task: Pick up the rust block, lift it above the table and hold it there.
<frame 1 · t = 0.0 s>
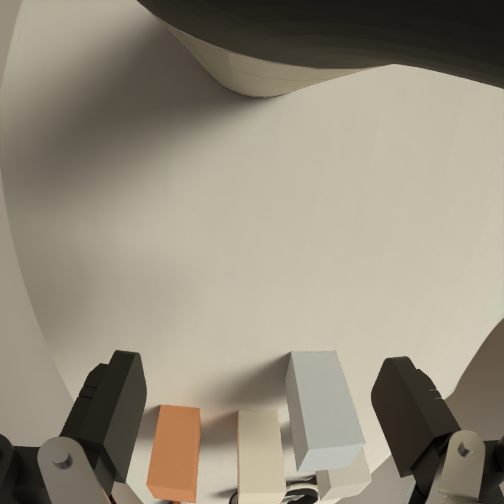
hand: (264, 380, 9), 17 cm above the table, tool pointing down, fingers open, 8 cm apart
cream block: (256, 420, 37), on the table
headset: (278, 488, 51), on the table
grey block: (328, 418, 38), on the table
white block: (309, 367, 33), on the table
rust block: (181, 416, 37), on the table
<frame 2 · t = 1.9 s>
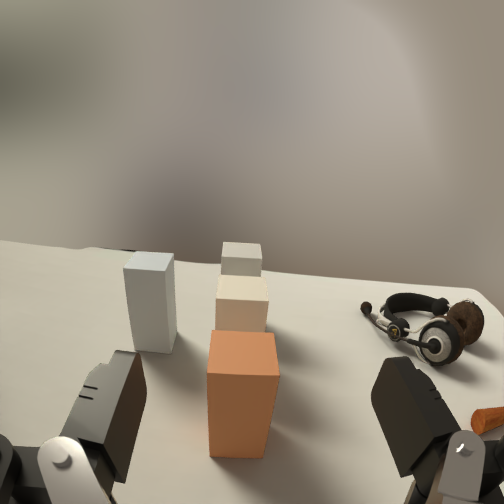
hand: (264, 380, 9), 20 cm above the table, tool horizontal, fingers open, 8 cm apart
cream block: (236, 372, 36), on the table
headset: (418, 336, 45), on the table
grey block: (237, 325, 46), on the table
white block: (156, 340, 40), on the table
rust block: (236, 437, 27), on the table
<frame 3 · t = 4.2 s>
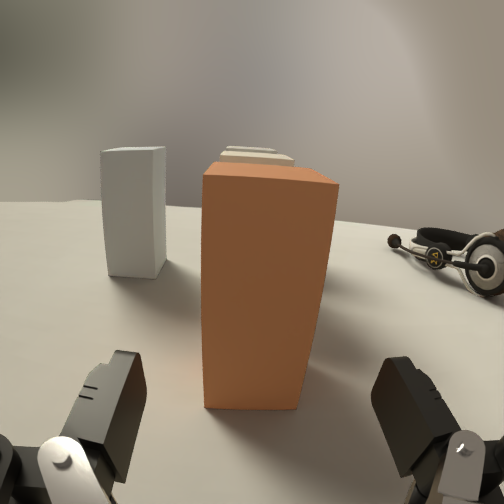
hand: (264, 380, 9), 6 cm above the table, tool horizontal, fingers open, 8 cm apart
cream block: (245, 297, 27), on the table
headset: (457, 273, 36), on the table
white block: (138, 266, 31), on the table
rust block: (249, 378, 18), on the table
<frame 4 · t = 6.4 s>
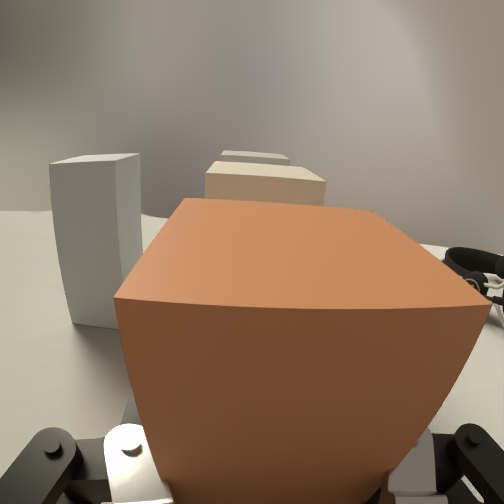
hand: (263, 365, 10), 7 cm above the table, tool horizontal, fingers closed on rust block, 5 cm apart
cream block: (247, 362, 19), on the table
headset: (488, 302, 29), on the table
grey block: (244, 289, 29), on the table
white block: (110, 309, 23), on the table
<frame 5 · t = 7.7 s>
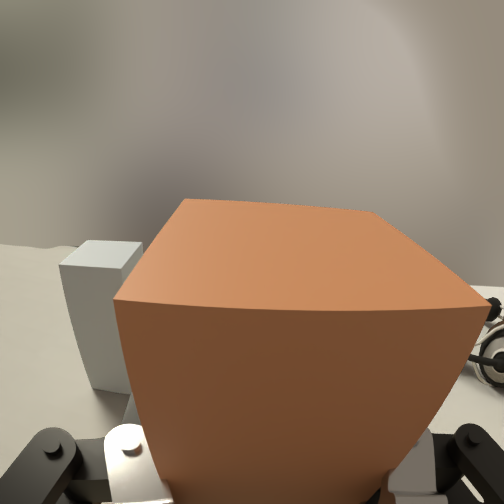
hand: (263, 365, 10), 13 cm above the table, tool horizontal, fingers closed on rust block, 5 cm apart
headset: (469, 348, 31), on the table
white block: (124, 374, 26), on the table
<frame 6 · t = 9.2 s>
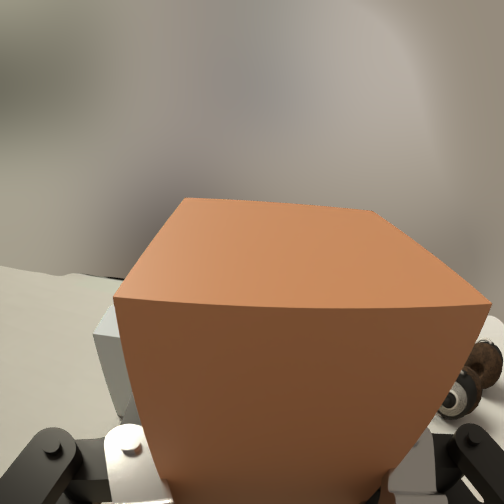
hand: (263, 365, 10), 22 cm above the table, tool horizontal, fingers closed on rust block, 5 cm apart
headset: (429, 380, 38), on the table
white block: (142, 402, 32), on the table
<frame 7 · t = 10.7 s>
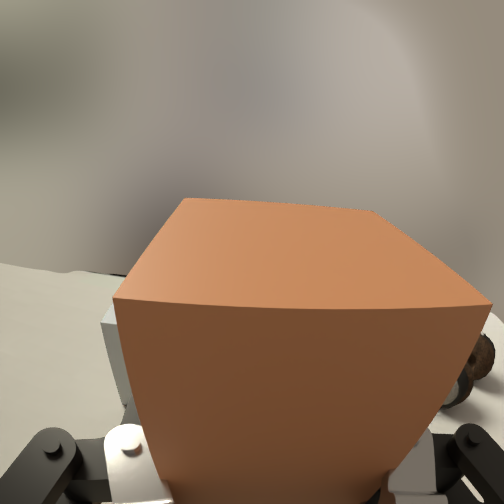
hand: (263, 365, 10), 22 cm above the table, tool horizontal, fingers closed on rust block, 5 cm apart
headset: (422, 371, 39), on the table
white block: (146, 392, 34), on the table
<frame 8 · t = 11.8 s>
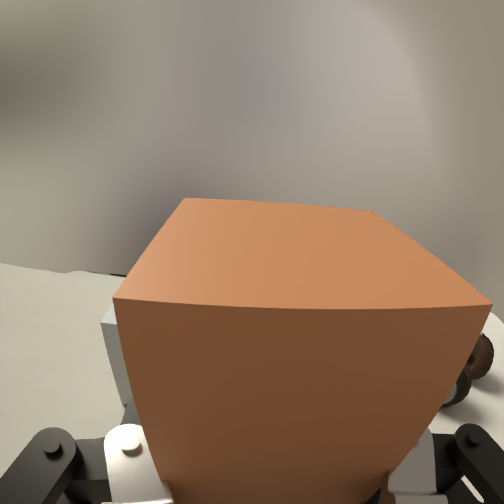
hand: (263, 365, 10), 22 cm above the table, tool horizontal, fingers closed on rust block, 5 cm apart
headset: (421, 370, 40), on the table
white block: (146, 392, 34), on the table
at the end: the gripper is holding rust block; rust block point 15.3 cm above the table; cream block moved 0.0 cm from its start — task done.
